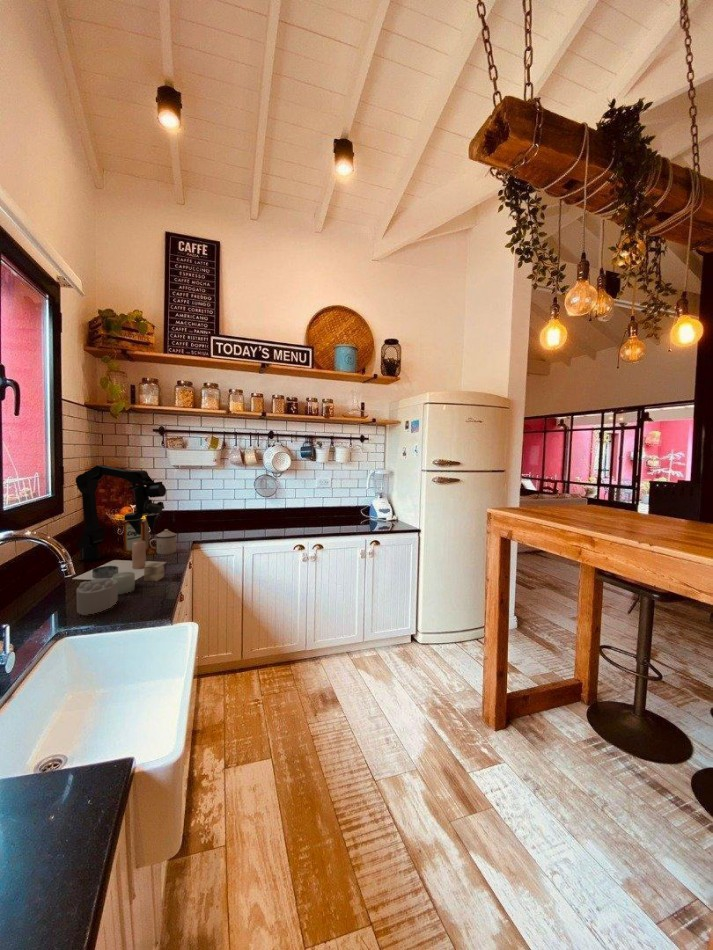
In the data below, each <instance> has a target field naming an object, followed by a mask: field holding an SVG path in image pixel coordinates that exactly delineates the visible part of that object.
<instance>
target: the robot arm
mask: <svg viewBox="0 0 713 950" xmlns="http://www.w3.org/2000/svg"><path fill="white" fill-rule="evenodd" d="M104 476H109V477H112V478H113V477H114V478H119V479H124V480H125V481H127V482H128V483H131V485H130V486H129V487H128V490H133V496H134V497H133V498H134V500H133V501H132V505H134V506H135V510H133V512H128V513H125V514H124V516H123V517H124V519H123V520H124V521H127V520H128V521H127V522H129V523H130V525H131V526H132V527H133V528H134V530H135V531H136V532H137V534H138V535H141V522H142V520H143V519H144V518H143V517H145V519H146V520H147V523H148V525H149V529H150V531H154V530H155V524H156V521H157V518H158V517H160V515H161V514H162V512H163V509H165V504H164V502H163V501H158V502H155V503H154V502H153V500H152V499H151V498H160V497H165V496H166V494H167V489H166V487H165V485H164V484H163V481H157V482H155V481H154V480H153V479H152V478H151V476H149V473H148V472H147V470H143V469H142V470H140V469H139V470H137V469H136V470H135V469H133V470H130V469H129V470H128V469H124V468H118V467H114V466H109V465H105V464H97V465H95V466H93V467H92V468H90V469H89V470H87V471H85V472H83V473H81V474H78V475H77V476H76V477H75V483H76V487H77V489H78V491H79V493H81V496H82V505H83V513H84V524H85V525H84V528H83V530H82V535H81V536H82V537H81V538H80V540H79V541H77V543H76V547H77V549H80V559H82V560H83V561H82V562H94V561H96V560H99V559H101V557H102V556H100V549H99V546H100V545H101V544H102V541H103V540H104V539H105V536H106V532H105V526H104V525H103V526H101V524H100V523H99V517H98V516H99V515H98V509H97V508H98V507H97V499H96V492H97V488H98V486H99V481H100V480H102V479H103V477H104Z"/></svg>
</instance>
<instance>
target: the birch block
mask: <svg viewBox="0 0 713 950" xmlns="http://www.w3.org/2000/svg"><path fill="white" fill-rule="evenodd" d="M164 567H165V563H150V564H148V565H146V566H145V567H144V576H143V578H144V579H143V581H146V582H147V581H148V582H149V581H150V582H154V581H155V582H158V581H160V580H161V579H163V578H164V574H165V573H164V569H165V568H164Z"/></svg>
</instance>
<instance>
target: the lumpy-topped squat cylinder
mask: <svg viewBox="0 0 713 950" xmlns="http://www.w3.org/2000/svg"><path fill="white" fill-rule="evenodd" d="M75 593H76V612H77V614H78V613H79V614H78V615H80V614H81V616H89V615H88V614H93V615H95V614H94V613H97V612H101V611H103V610H106V609H108V608H111V607H112V606H113V605H115V604H116V605H117V603H118V602H119V600H118V596H119V594H118V589H117V580H112V579H110V578H95V579H93V580H85V581H84V580H83V581H82V583H79V585H78V587H77V588H76V592H75ZM117 601H118V602H117ZM116 602H117V603H116ZM116 605H115V606H116ZM113 607H114V606H113ZM113 607H112V608H113ZM112 608H111V609H112ZM106 611H107V610H106ZM101 613H102V612H101ZM97 614H98V613H97Z"/></svg>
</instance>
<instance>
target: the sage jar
mask: <svg viewBox="0 0 713 950" xmlns="http://www.w3.org/2000/svg"><path fill="white" fill-rule="evenodd" d="M113 580H117V589H118V595H124V594H123V593H127V594H129V593H128V592H130V593H132V592H131V591H133V590H134V589H135V587H136V585H135V584H136V583H135V582H136V580H135V573H133V572H122V573H117V574H115V575H113ZM135 590H136V589H135ZM135 590H134V591H135ZM134 591H133V592H134Z"/></svg>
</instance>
